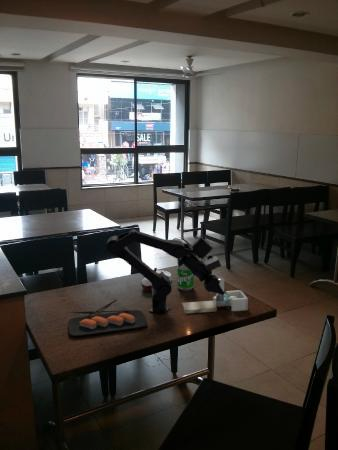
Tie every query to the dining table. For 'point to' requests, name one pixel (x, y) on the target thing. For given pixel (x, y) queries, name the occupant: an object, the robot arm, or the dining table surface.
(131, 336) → the dining table surface
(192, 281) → the soda can
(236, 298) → the ball
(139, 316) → the sushi plate
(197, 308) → the beige flat block
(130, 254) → the robot arm
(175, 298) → the dining table surface
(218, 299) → the striker
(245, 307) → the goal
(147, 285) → the cocoa
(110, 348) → the dining table surface
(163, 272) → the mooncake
